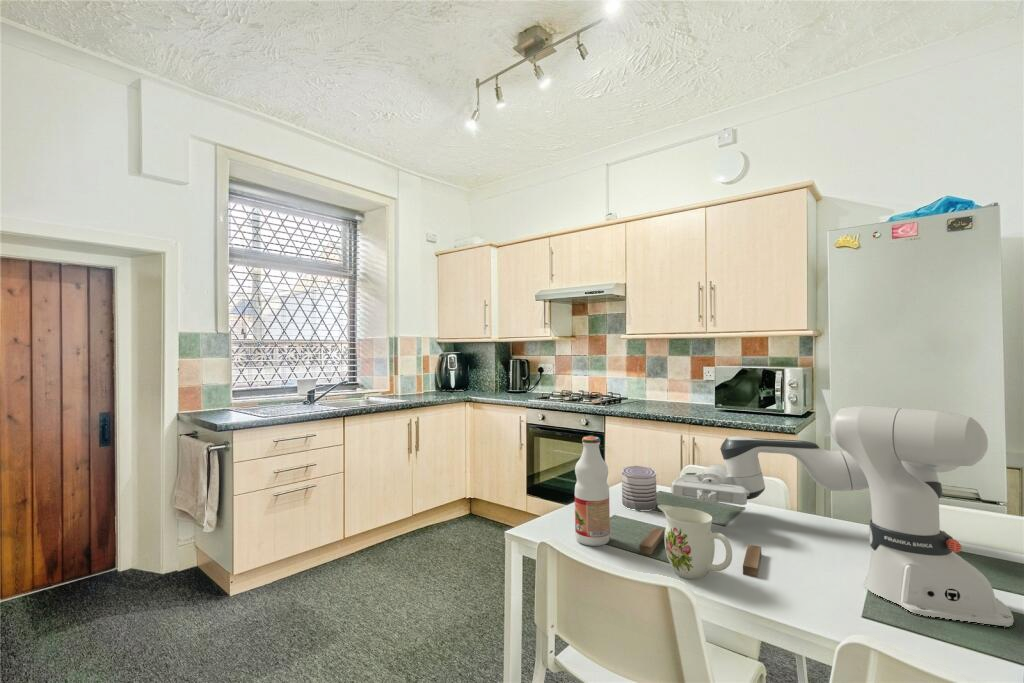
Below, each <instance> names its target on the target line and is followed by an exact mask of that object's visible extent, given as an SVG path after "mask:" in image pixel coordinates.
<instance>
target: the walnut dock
mask: <svg viewBox="0 0 1024 683" xmlns="http://www.w3.org/2000/svg"><path fill="white" fill-rule="evenodd" d="M663 537H664V538H665V529H664V528H661V527H660V528H659V527H652V529H651V530H650V531H649V532H648V533H647V534H646V536H645V537H644V538H643V540H642V541H641V542H639V546H638V547H639V551H638V552H639V554H643V555H649V556H652V555H653V553H654V552H655V550H656V549H657V548H656V547H658V546H659V545H660V543H662V541H663V539H664V538H663ZM662 538H663V539H662ZM661 540H662V541H661ZM658 544H659V545H658ZM745 551H746V552H745V555H744V558H743V563H742V574H743V575H745V576H750V577H754V578H759V577H758V576H759V571H760V565H761V559H762V546H760V545H754V544H750V543H747V547H746V550H745ZM651 554H652V555H651Z"/></svg>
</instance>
